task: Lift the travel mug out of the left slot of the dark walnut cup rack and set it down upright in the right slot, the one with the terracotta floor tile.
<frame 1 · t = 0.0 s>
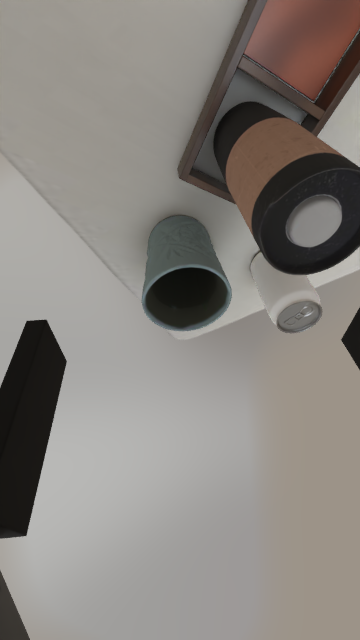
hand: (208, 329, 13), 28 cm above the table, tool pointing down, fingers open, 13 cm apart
green tapered cup: (178, 244, 42), on the table
cup rack: (274, 85, 29), on the table
travel mug: (244, 139, 33), resting in cup rack
can: (270, 262, 45), on the table
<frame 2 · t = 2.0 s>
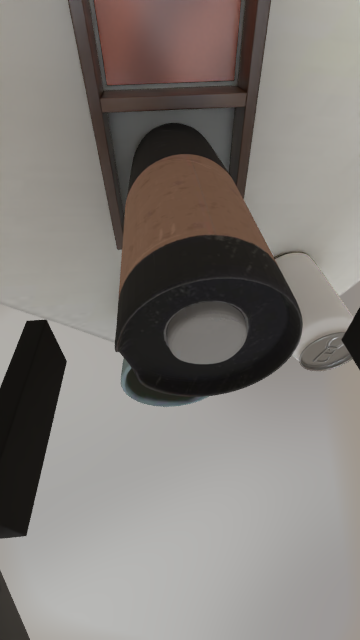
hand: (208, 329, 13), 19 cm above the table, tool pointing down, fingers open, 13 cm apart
green tapered cup: (167, 297, 36), on the table
cup rack: (171, 94, 22), on the table
travel mug: (173, 169, 26), resting in cup rack
can: (285, 272, 35), on the table
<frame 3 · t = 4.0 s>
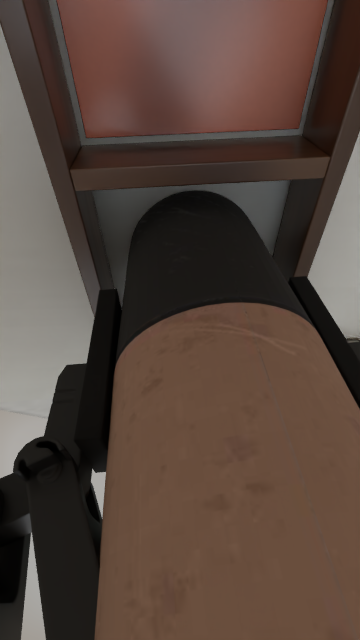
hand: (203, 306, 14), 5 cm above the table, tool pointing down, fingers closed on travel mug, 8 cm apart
cup rack: (193, 150, 13), on the table
travel mug: (191, 249, 17), resting in cup rack, touching gripper
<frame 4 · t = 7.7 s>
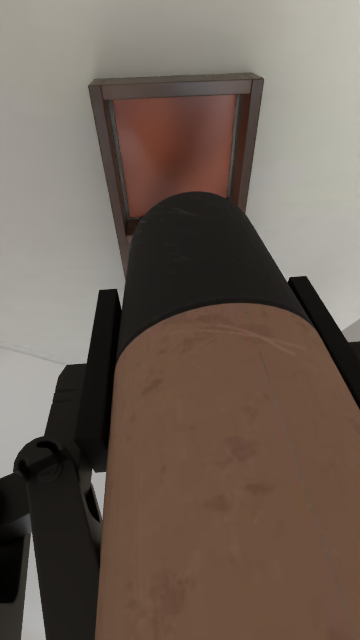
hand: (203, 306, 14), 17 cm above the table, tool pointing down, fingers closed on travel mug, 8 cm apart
cup rack: (178, 220, 29), on the table
travel mug: (191, 250, 17), point 12 cm above the table, touching gripper
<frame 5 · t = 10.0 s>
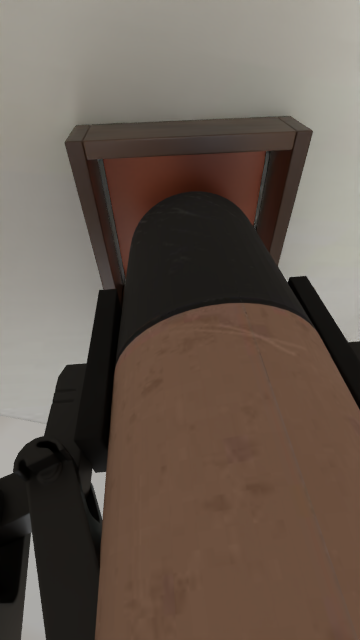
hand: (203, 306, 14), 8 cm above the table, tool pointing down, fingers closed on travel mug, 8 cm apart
cup rack: (186, 284, 23), on the table
travel mug: (191, 250, 17), point 3 cm above the table, touching gripper
when the fingers open (5 cm above the table, at t = 11.4 s): travel mug stays where it is, resting on cup rack.
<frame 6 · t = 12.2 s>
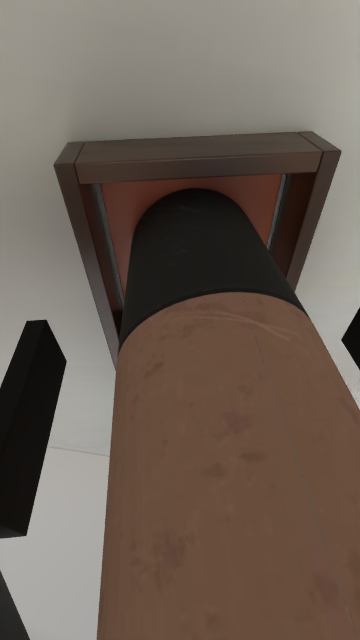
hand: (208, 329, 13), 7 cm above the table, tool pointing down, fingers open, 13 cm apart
cup rack: (190, 309, 21), on the table
travel mug: (191, 245, 18), resting on cup rack
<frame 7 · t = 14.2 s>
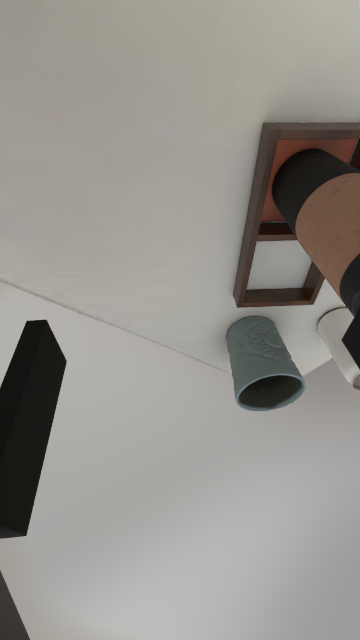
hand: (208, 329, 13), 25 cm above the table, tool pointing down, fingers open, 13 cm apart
green tapered cup: (250, 333, 51), on the table
cup rack: (289, 225, 37), on the table
travel mug: (301, 182, 34), resting on cup rack
can: (335, 319, 50), on the table
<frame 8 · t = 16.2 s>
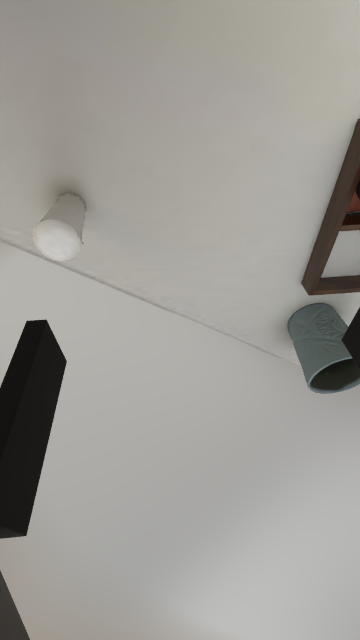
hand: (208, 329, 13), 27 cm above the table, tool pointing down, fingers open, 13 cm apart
green tapered cup: (310, 320, 54), on the table
milkshake: (75, 204, 35), on the table
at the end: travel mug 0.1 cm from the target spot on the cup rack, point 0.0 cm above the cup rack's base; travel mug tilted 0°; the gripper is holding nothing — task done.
